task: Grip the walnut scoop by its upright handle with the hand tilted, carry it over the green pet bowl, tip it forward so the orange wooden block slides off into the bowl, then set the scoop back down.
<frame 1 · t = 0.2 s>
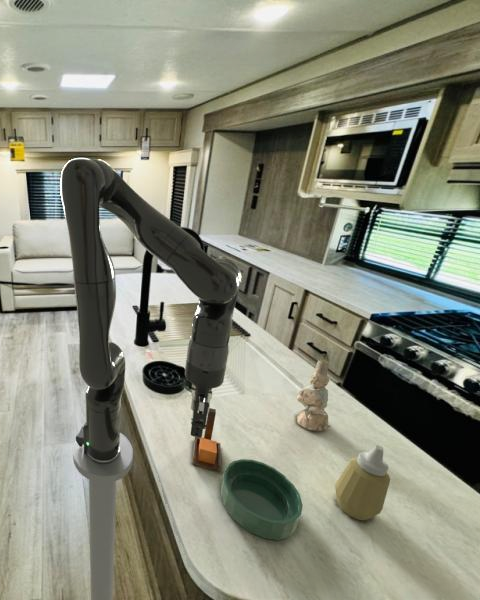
hand: (196, 421, 68), 20 cm above the counter, tool pointing down, fingers open, 8 cm apart
green pet bowl: (256, 505, 71), on the counter
block: (206, 456, 83), point 1 cm above the counter, touching scoop
squeeze bottle: (352, 508, 70), on the counter
scoop: (206, 456, 84), on the counter, touching block
figurine: (310, 423, 94), on the counter
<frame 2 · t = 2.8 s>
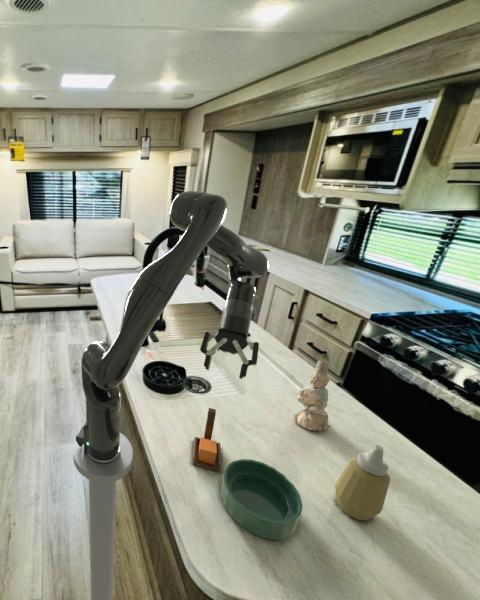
hand: (223, 373, 85), 20 cm above the counter, tool tilted 40°, fingers open, 8 cm apart
nothing on the counter moved.
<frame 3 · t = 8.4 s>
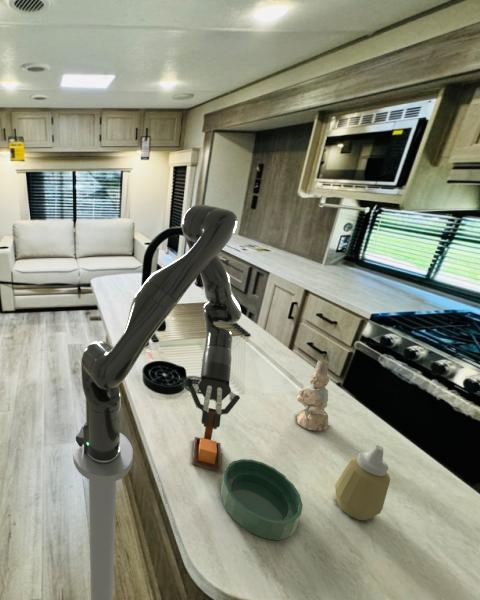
hand: (210, 427, 83), 8 cm above the counter, tool tilted 45°, fingers closed on scoop
scoop: (206, 456, 84), on the counter, touching block, gripper
everything else where it was.
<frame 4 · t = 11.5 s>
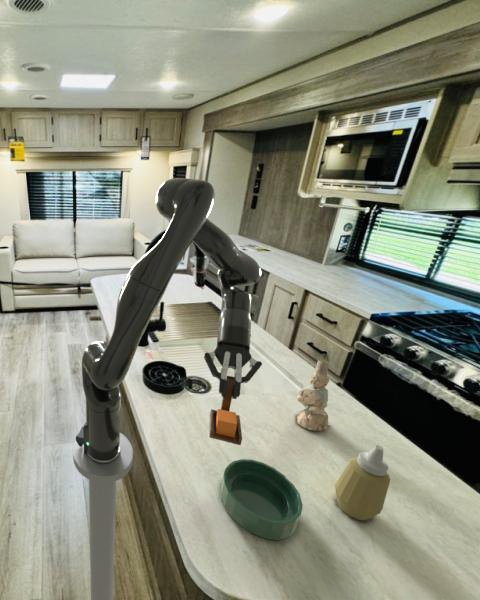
hand: (229, 397, 74), 21 cm above the counter, tool tilted 45°, fingers closed on scoop
block: (224, 429, 74), point 14 cm above the counter, touching scoop
scoop: (224, 429, 75), point 13 cm above the counter, touching block, gripper
everything else where it was.
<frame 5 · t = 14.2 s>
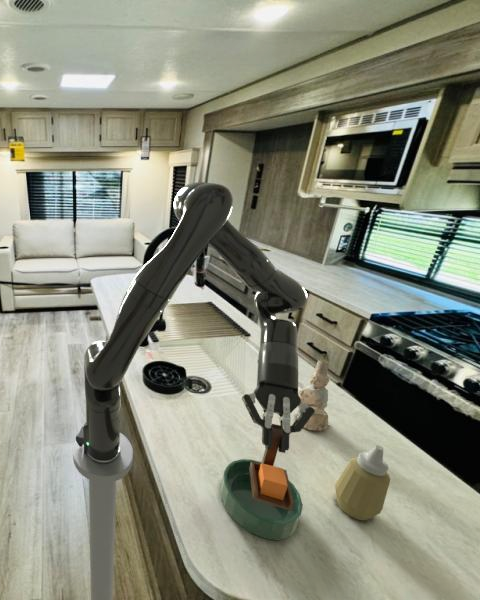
hand: (275, 450, 62), 19 cm above the counter, tool tilted 45°, fingers closed on scoop
block: (269, 488, 63), point 11 cm above the counter, touching scoop
scoop: (268, 488, 63), point 11 cm above the counter, touching block, gripper
everything else where it was.
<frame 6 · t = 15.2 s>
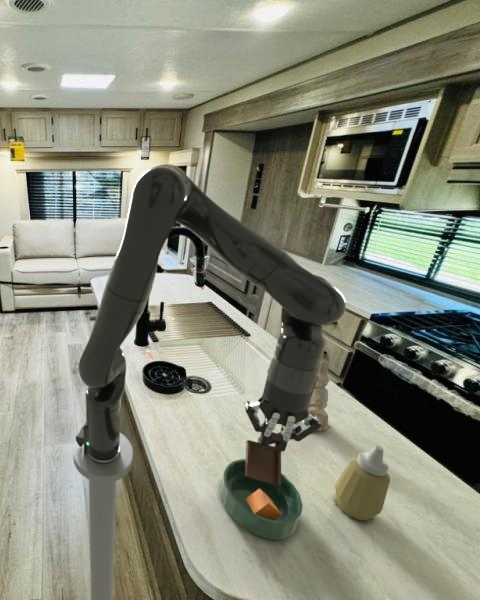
hand: (271, 448, 65), 17 cm above the counter, tool pointing down, fingers closed on scoop
block: (258, 499, 69), point 3 cm above the counter, tilted 78°, touching green pet bowl
scoop: (261, 462, 71), point 9 cm above the counter, tilted 41°, touching gripper
everything else where it was.
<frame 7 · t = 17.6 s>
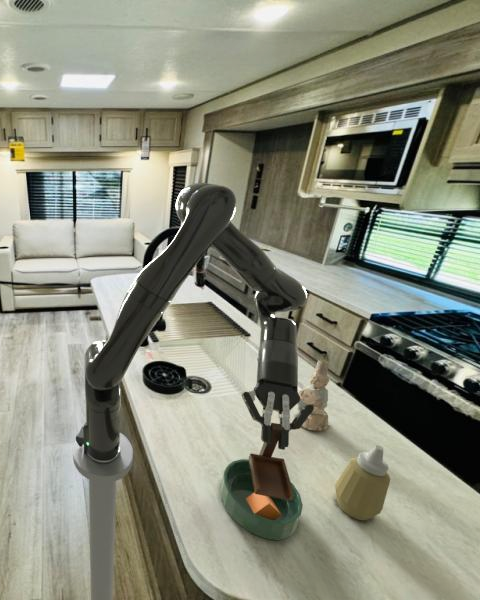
hand: (274, 447, 63), 19 cm above the counter, tool tilted 45°, fingers closed on scoop
scoop: (268, 478, 66), point 10 cm above the counter, tilted 13°, touching gripper
everything else where it was.
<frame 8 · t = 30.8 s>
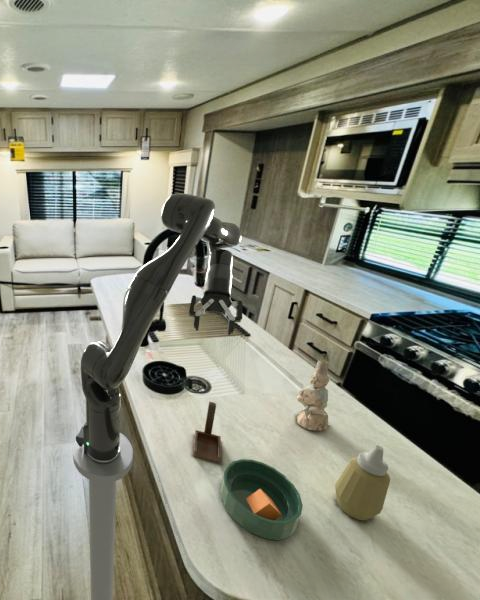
hand: (212, 332, 89), 29 cm above the counter, tool tilted 45°, fingers open, 8 cm apart
scoop: (206, 449, 86), on the counter
everything else where it was.
at the end: block inside the target area in the green pet bowl (1.1 cm from its centre), point 3.3 cm above the green pet bowl's base; scoop tilted 0°; the gripper is holding nothing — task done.
